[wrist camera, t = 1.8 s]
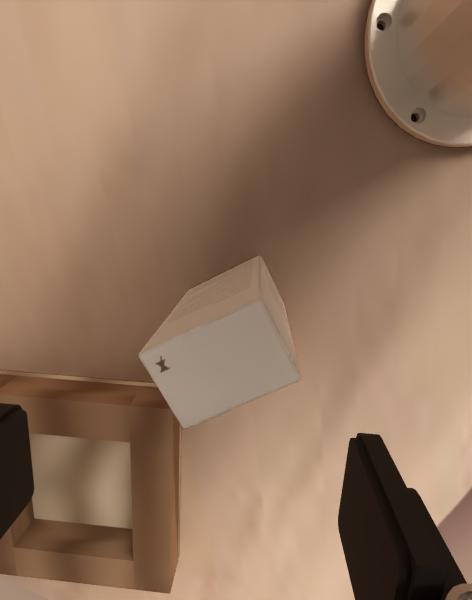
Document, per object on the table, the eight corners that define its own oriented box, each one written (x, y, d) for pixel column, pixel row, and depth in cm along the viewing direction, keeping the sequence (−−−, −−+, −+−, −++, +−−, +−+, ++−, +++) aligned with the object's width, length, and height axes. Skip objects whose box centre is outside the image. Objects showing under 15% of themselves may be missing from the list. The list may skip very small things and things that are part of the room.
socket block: (182, 385, 30) (171, 409, 26) (179, 554, 34) (170, 593, 31) (-13, 369, 31) (-47, 390, 27) (10, 535, 35) (-18, 571, 32)
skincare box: (214, 338, 28) (179, 434, 17) (187, 288, 28) (131, 354, 16) (288, 304, 27) (304, 382, 16) (262, 252, 26) (259, 294, 15)
